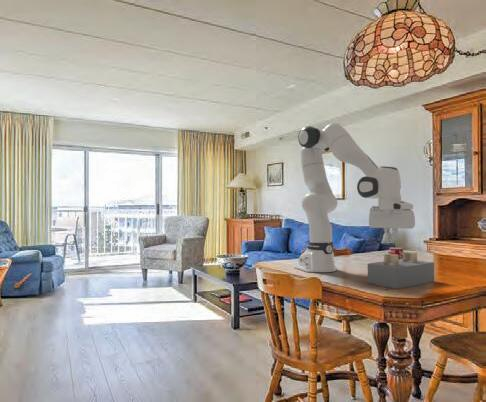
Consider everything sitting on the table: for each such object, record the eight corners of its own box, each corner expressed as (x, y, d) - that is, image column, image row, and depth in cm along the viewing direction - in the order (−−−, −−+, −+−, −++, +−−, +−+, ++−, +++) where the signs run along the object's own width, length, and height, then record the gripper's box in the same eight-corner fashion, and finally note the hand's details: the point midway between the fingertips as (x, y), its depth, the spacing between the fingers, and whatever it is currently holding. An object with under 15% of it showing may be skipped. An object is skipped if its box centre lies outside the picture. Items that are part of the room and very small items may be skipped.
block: (368, 282, 160) (367, 263, 160) (405, 276, 172) (404, 258, 172) (396, 288, 148) (396, 268, 148) (434, 281, 160) (434, 262, 160)
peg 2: (403, 268, 164) (402, 252, 164) (409, 267, 166) (408, 251, 166) (411, 269, 161) (410, 253, 161) (417, 268, 163) (417, 252, 163)
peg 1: (384, 271, 158) (383, 254, 158) (390, 270, 160) (390, 253, 160) (392, 272, 155) (391, 255, 155) (398, 271, 157) (398, 254, 157)
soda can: (403, 272, 182) (402, 247, 182) (405, 275, 176) (405, 248, 176) (387, 271, 184) (387, 246, 184) (389, 274, 177) (388, 248, 178)
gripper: (364, 206, 165) (366, 238, 165) (406, 205, 147) (407, 241, 147) (374, 205, 168) (376, 237, 168) (416, 204, 150) (418, 240, 150)
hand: (391, 239), depth 157 cm, fingers closed
